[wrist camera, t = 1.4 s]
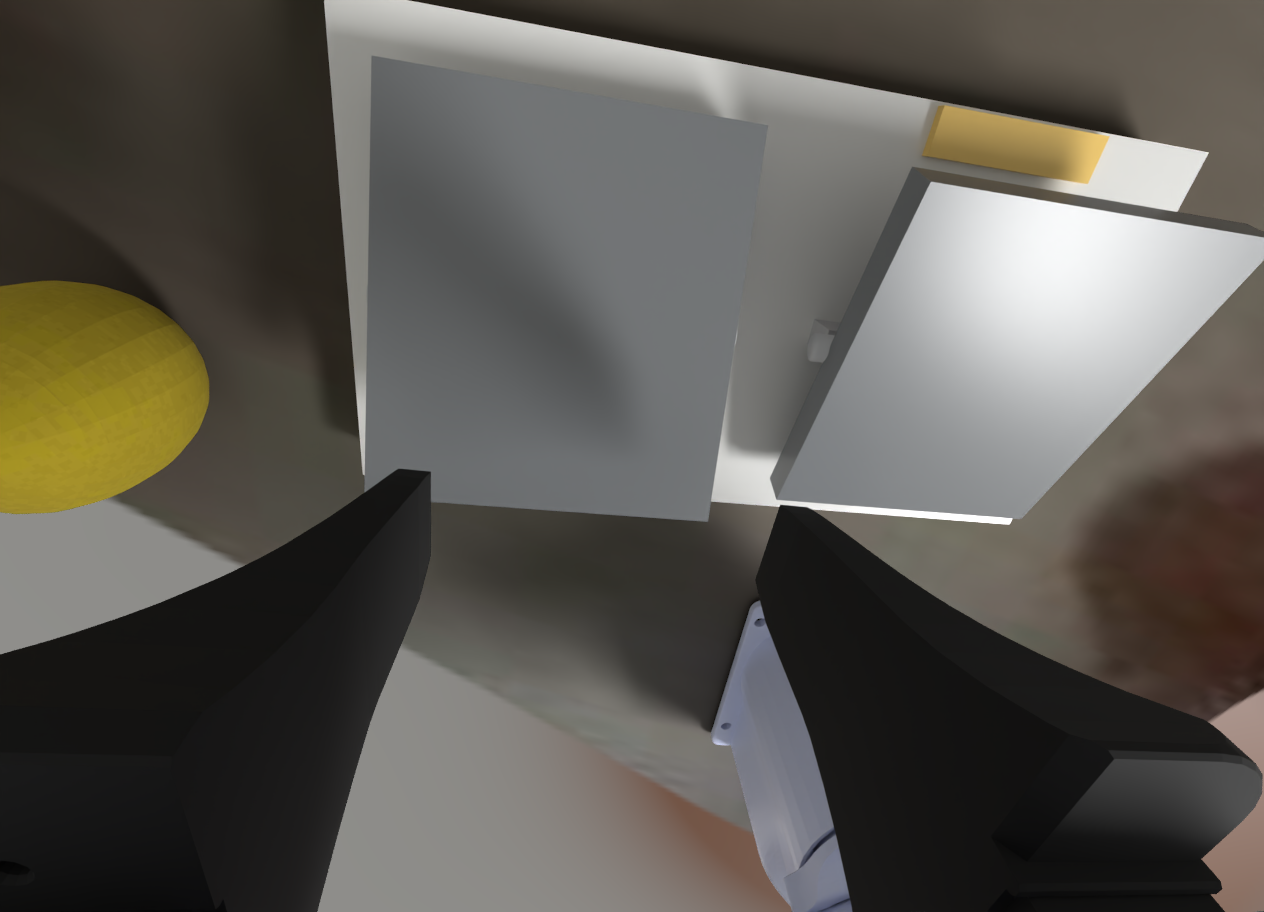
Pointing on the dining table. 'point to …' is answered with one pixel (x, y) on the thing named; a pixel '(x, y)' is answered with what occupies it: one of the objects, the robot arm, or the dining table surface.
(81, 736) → the robot arm
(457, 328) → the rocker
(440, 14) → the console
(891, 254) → the rocker
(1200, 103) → the dining table surface
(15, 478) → the lemon
